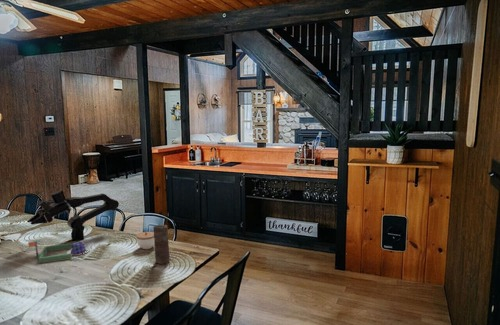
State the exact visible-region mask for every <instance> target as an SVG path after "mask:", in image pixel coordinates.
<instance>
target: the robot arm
mask: <svg viewBox="0 0 500 325" xmlns="http://www.w3.org/2000/svg"><path fill="white" fill-rule="evenodd" d="M50 198H51V200H52V201H53V203H54V204H56V205H51V202H49V201H45V200H41V201H40V202H39V203H38V206H40V207H41V208H40V209H37V211H36V212H35V215H33V216H32V217H30V218H29V219H28V220H27V223H30V224H31V225H37V224H38V225H39V224H41V225H42V224H47V223H52V222H53V220H54V217H57V216H59V215H61V214H63V213H65V212H66V213H68V214H70V213H71V210H72V208H73V209H74V208H78V207H81V206H83V205H85V204H89V203H95V202H100V201H103V204H102V205H100V206H97V207H96V208H94V209H91V210H90V211H88V212H86V213H84V214H82V215H78V214H75V215H73V216H71V217H69V219H67V222H66V223H67V226H68V227H69V228H71V229H72V230H71V233H70V234H71V236H70V237H71V240H72V241H73V242H74V241H83V240H84V239H85V232H84V230H85V228H86V227H85V226H84V224H85V223H86V222H88V221H90V220H91V219H93V218H96V217H97V216H99V215H100V214H104V213H105V212H107V211H113V210H116V209H117V208H119V205H120V203H119V202H120V201H118V200H116V199H113V198H111V197H110V196H108V195H107V194H106V193H104V192H103V193H102V192H101V193H99V194H94V195H89V196H88V195H87V196H83V197H82V196H81V197H80V196H71V197H66V196H65V194H64V190H62V189H61V190H56V191H53V192H51V193H50ZM70 207H71V208H70Z"/></svg>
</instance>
